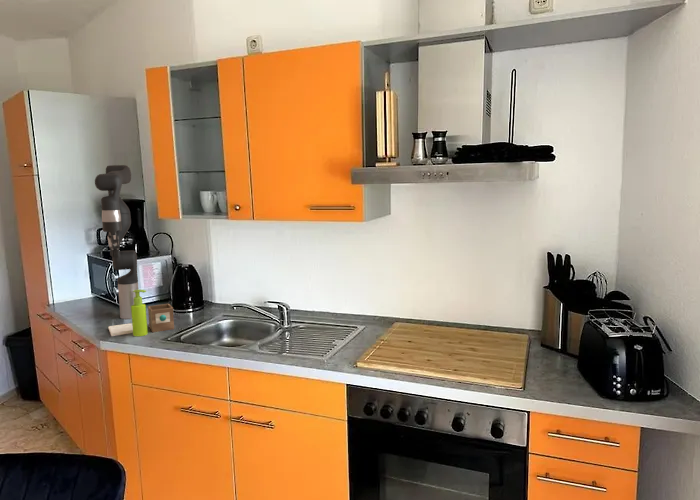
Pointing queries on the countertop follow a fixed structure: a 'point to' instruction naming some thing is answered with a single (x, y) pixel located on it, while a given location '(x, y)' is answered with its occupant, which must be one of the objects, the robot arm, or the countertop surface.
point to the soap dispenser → (139, 315)
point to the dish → (120, 329)
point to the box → (161, 317)
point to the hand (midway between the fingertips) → (114, 257)
